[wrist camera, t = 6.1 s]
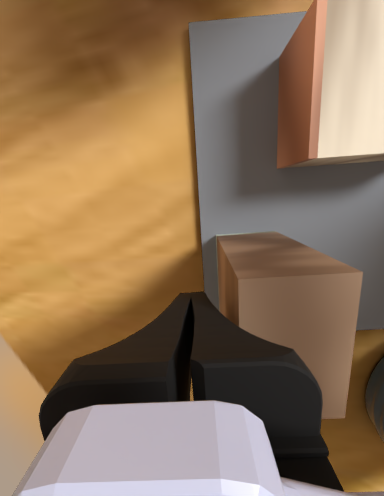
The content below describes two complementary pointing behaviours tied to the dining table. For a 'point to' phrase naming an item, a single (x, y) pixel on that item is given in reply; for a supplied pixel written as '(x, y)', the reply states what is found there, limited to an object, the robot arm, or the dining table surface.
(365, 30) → the ash block
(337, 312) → the walnut block
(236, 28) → the felt mat
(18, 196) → the dining table surface
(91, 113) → the dining table surface
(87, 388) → the robot arm
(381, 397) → the canister
